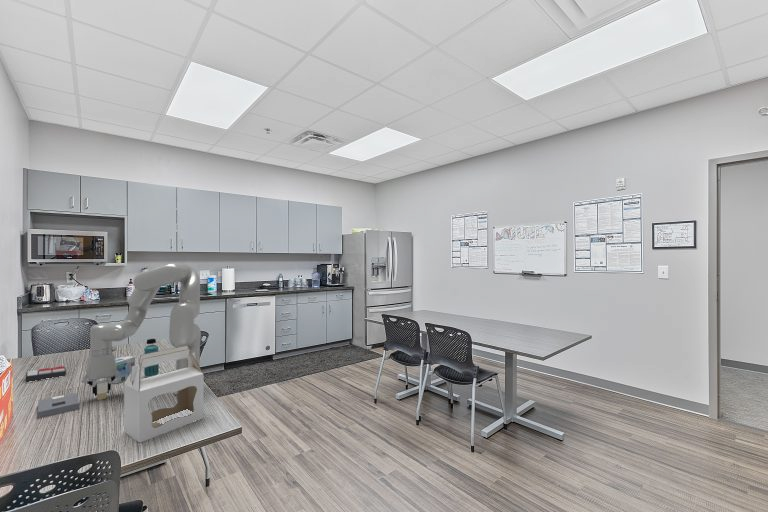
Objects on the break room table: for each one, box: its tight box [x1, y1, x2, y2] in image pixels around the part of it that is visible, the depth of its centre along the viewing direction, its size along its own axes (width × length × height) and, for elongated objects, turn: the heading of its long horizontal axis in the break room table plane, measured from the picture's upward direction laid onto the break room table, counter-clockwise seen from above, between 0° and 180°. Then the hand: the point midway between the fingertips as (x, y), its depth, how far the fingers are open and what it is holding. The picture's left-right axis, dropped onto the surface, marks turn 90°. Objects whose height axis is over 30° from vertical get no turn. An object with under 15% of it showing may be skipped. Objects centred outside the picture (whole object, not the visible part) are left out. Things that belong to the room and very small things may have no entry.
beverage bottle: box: [143, 338, 160, 377], centre depth 182 cm, size 6×7×20 cm
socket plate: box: [37, 392, 80, 419], centre depth 146 cm, size 16×12×3 cm
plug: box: [96, 379, 108, 401], centre depth 155 cm, size 5×4×7 cm
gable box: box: [123, 346, 205, 443], centre depth 130 cm, size 22×13×28 cm, turn 145°
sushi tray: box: [25, 365, 67, 382], centre depth 184 cm, size 11×4×15 cm
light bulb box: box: [105, 355, 136, 385], centre depth 179 cm, size 11×7×11 cm, turn 168°
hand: (101, 393), depth 155 cm, fingers closed on plug, 3 cm apart
